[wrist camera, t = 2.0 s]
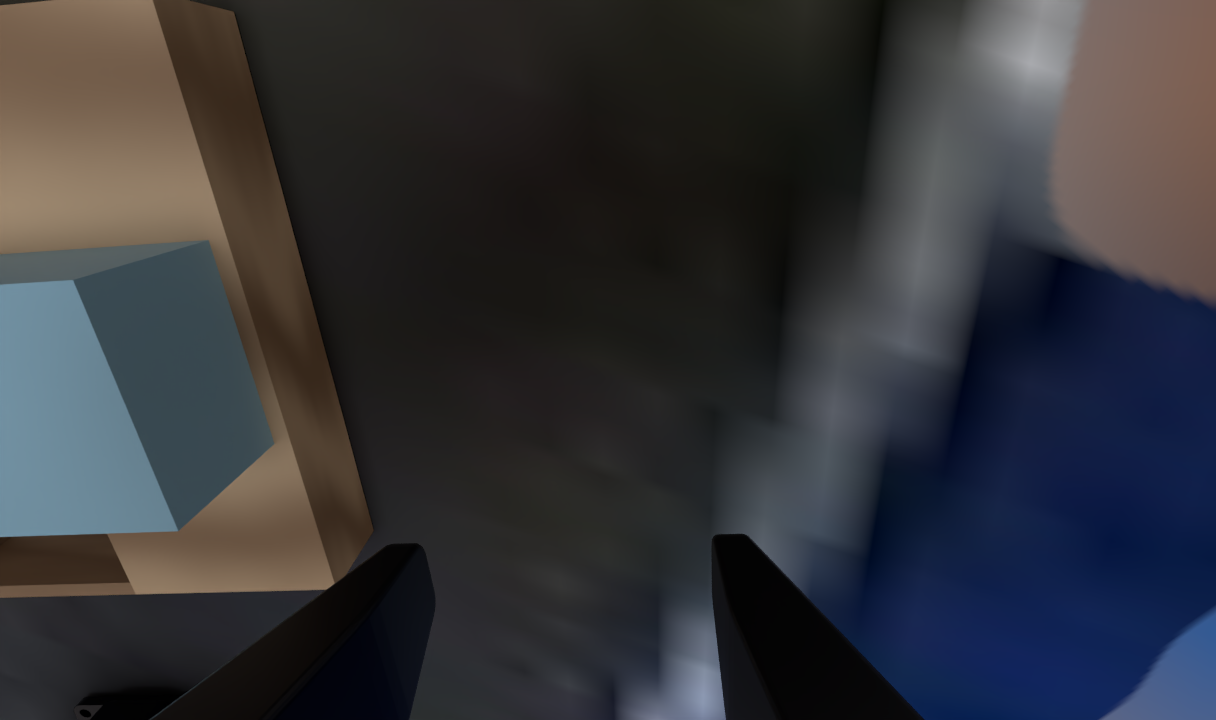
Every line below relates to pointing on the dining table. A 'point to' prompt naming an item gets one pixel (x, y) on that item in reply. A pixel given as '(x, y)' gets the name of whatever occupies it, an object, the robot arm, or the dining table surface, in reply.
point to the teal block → (120, 390)
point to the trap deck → (164, 213)
